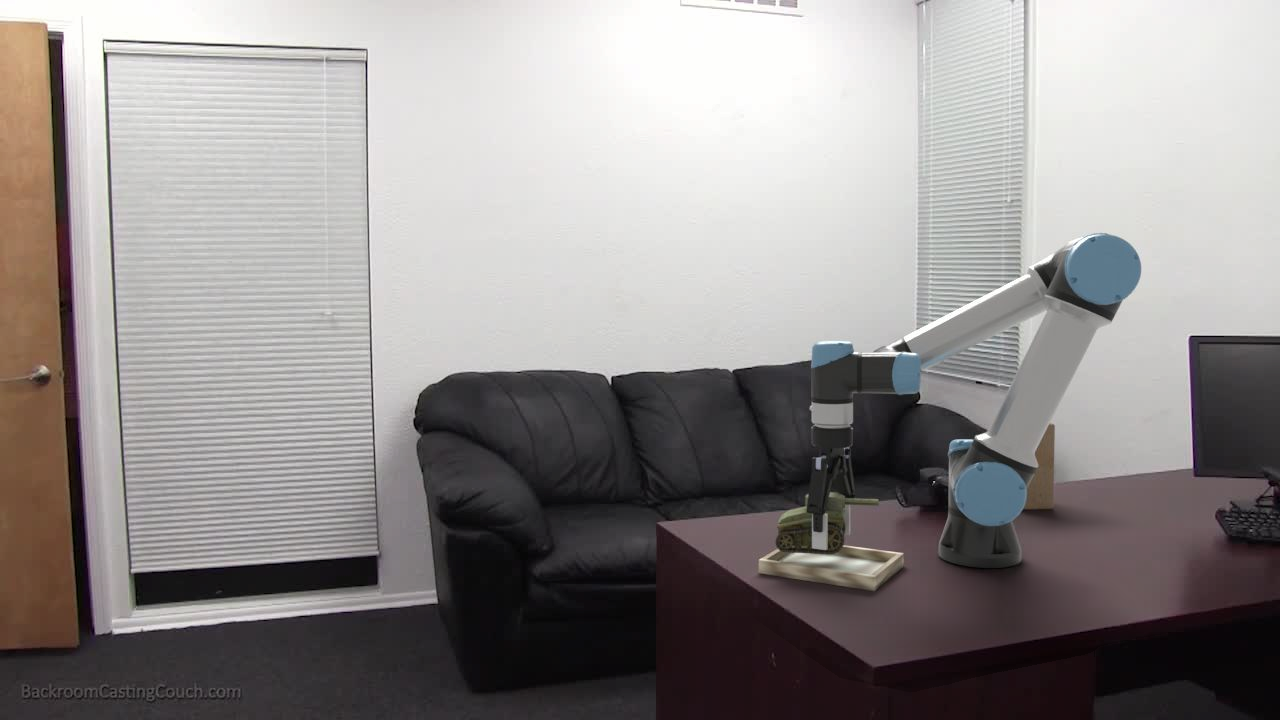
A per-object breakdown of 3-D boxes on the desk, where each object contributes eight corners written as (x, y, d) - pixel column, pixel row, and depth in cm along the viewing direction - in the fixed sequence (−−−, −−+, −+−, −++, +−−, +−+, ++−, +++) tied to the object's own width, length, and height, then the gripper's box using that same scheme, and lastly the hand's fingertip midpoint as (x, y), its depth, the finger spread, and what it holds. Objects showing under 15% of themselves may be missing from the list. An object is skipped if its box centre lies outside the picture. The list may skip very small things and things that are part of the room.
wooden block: (1054, 509, 229) (1055, 424, 227) (1010, 510, 229) (1011, 424, 227) (1037, 500, 239) (1038, 417, 237) (995, 500, 239) (996, 418, 237)
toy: (878, 556, 178) (878, 502, 177) (775, 551, 182) (775, 498, 181) (878, 542, 187) (878, 490, 187) (780, 537, 192) (779, 486, 191)
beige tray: (903, 566, 186) (903, 553, 186) (874, 591, 172) (874, 577, 172) (794, 551, 198) (794, 538, 197) (758, 573, 183) (758, 559, 183)
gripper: (835, 415, 194) (835, 524, 196) (787, 432, 174) (787, 553, 176) (872, 417, 191) (871, 529, 192) (827, 435, 170) (827, 559, 172)
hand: (831, 541), depth 184 cm, fingers closed on toy, 11 cm apart
